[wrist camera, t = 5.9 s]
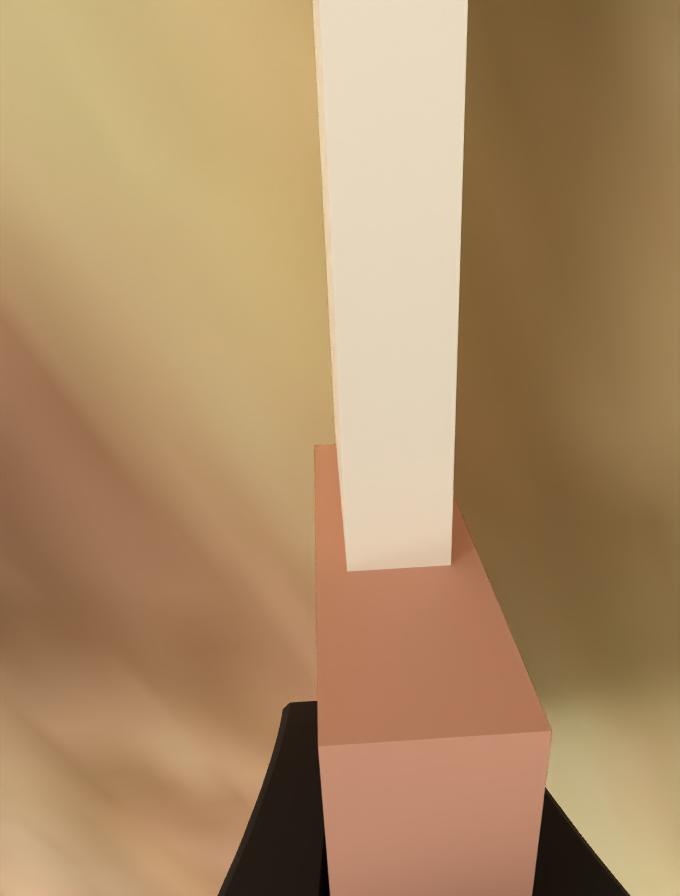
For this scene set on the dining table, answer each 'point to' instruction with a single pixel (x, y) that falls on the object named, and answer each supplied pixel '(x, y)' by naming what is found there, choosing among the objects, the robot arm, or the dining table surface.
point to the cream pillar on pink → (407, 492)
